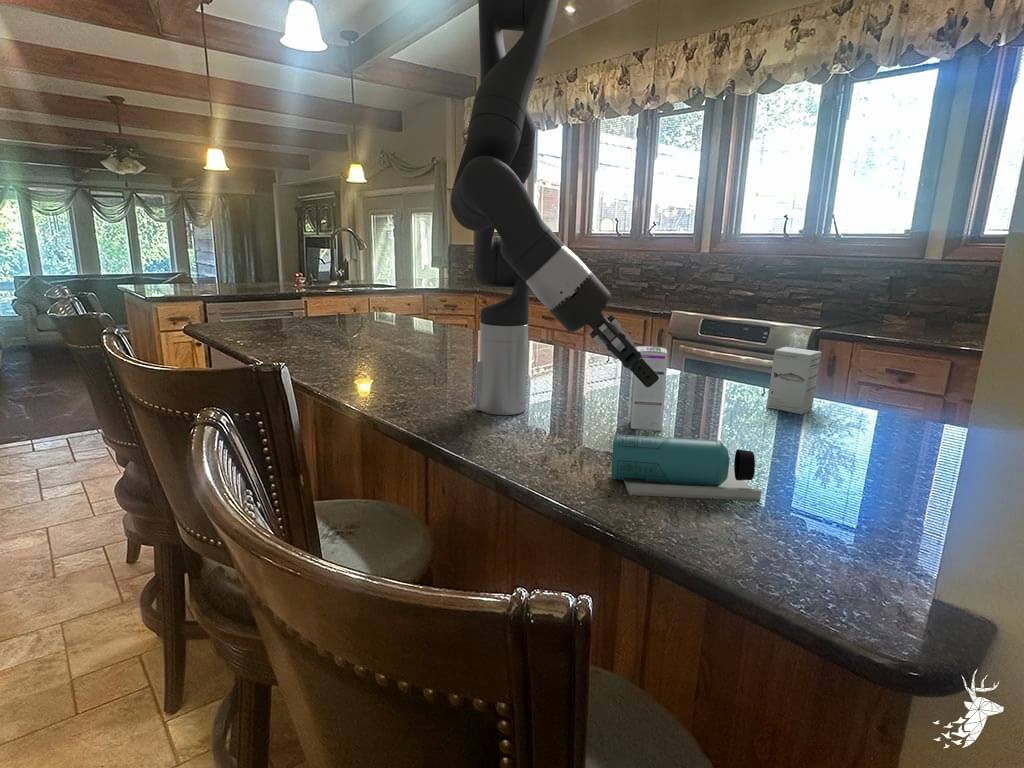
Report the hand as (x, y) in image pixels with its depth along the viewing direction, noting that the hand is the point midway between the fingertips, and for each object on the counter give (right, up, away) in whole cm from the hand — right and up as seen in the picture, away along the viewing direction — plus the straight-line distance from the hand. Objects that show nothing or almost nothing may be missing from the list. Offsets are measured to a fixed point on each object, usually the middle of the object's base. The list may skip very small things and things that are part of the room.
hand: (652, 382), depth 78 cm
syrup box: (+5, -8, +28) cm, 29 cm away
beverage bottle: (-7, -10, +2) cm, 12 cm away
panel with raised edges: (+5, -14, +3) cm, 15 cm away
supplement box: (+40, -6, +43) cm, 59 cm away
